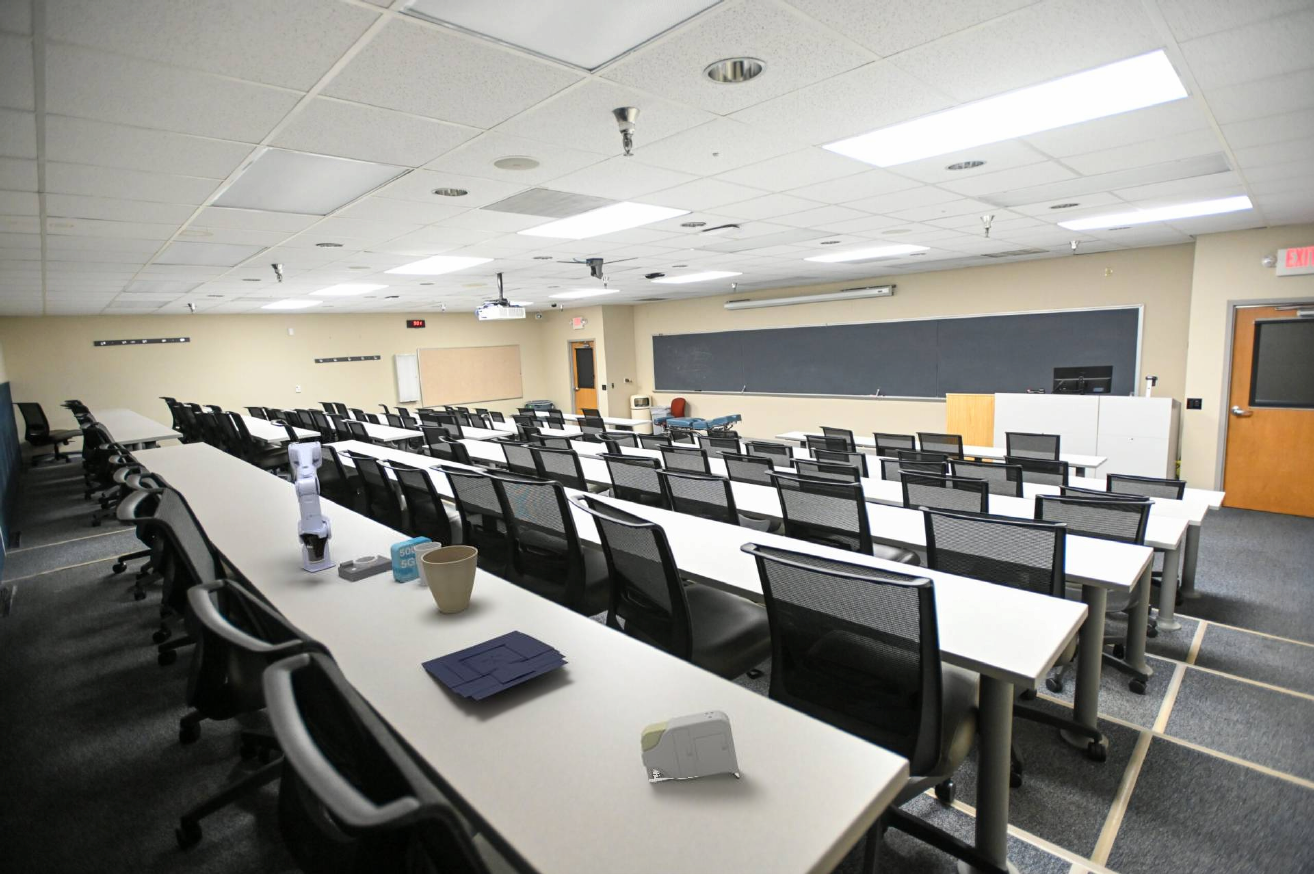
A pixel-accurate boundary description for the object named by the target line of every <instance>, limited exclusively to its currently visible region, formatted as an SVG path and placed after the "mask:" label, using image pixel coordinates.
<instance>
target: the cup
mask: <svg viewBox="0 0 1314 874" xmlns="http://www.w3.org/2000/svg"><path fill="white" fill-rule="evenodd" d="M439 548H442V544H441V542H436V541H433V542H429V543H423V544H420V545H417V546H415V547H414V551H415V556H416V561H417V566H418V572H419V582H420V583H419V584H420V586H421V587H425V588H426V587H428V588H429V585H428V582H427V579H426V576H425V572H424V568H423V564H422V560H421V557H422V556H423V555H424V554H425V553H427V552H430V551H432V550H435V549H439Z"/></svg>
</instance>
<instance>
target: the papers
mask: <svg viewBox="0 0 1314 874" xmlns="http://www.w3.org/2000/svg"><path fill="white" fill-rule="evenodd" d="M564 658H567V656H566V655H564V654H563V653H561V651H560V650H558V649H555V647H553V646H552V645H550V644H547V643H546V642H543V641H541V640H539V639H538V638H536V637H533V636H532V635H529V634H527V633H524V632H522V631H519V630H513V631H510V632H507V633H505V634H503V635H500V636H497V637H495V638H491V639H488V640H486V641H482V642H481V643H477V644H474V645H473V646H472V645H471V646H469V647H466V648H463V649H461V650H458V651H455V652H450V653H449V654H444V655H442V656H440V657H437V658H433V659H430V660H426V661H424V662H421V665H422V666H423V667H424V668H425V669H426V670H427V671H428V672H430V673H431V674H432V675H433V676H435V678H437V679H439V681H441V682H442V683H443V684H444V685H445V686H447V687H448V688H449V690H451V691H452V692H454V693H455V694H457V693H458V694H460V695H461V696H462V697H464V698H467V697H469V696H471V697H472V698H473V699H475V700H476V701H479V700H481V699H484V698H486V697H489V696H491V695H494V694H495V693H499V692H501V691H503V690H505V689H508V688H511V687H512V686H513V687H514V686H515V685H518V684H520V683H522V682H525V681H527V680H530V679H532V678H535V677H537V676H540V675H542V674H545V673H547V672H550V671H552V670H555V669H557V668H560V667H563V666H565V665H568V664H569V663H570V662H569V661H566V660H565V659H564Z"/></svg>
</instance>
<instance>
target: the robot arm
mask: <svg viewBox="0 0 1314 874" xmlns="http://www.w3.org/2000/svg"><path fill="white" fill-rule="evenodd" d="M287 448H288V456H289V457H288V458H289V461H290V466H291V467H292V469H293V470H295V473H296V474H295V475H296V480H295V481H294V489H295V495H296V498H297V502H298V504H299V505H298V506H299V512H300V514H299V515H300V519H299V521H298V523H297V535H298V543H299V544H301V545H302V548H301V553H302V554H301V555H302V561H303V565H301V566H300V568H301V569H304V570H306V571H308V572H310V573H316V572H319V571H322V570H325V569H329V568H333V567H336V566H337V564H336V563H334V562H331V561H332V560H331V554H330V553H331V552H330V546H329V545H330V544H329V540H331V539H332V538H333V536H332V527H331V522H330V518H329V517H328V516H326V515H324V514H323V513H322V509H321V508H322V507H321V502H320V493H321V488H320V482H319V478H318V474H317V473H318V472H317V469H318V468H320V467H322V463H323V458H322V457H323V454H322V445H321V442H319V441H318V440H317V441H314V442H313V441H311V442H302V443H290V444H289V445H287ZM309 543H311V545H312V547H313V551H314V554H315V557H316V558H319V557H323V556H324V557H325V561H323V562H321V563H316V564H310V563H309V558H308V550H307V544H309Z"/></svg>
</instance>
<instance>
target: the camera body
mask: <svg viewBox="0 0 1314 874" xmlns="http://www.w3.org/2000/svg"><path fill="white" fill-rule="evenodd" d="M337 571H338V576H339V577H340V578H342V579H345V580H346V581H350V582H352V583H354V582H358V581H360V580H364V579H366V578H367V579H368V578H370V577H373V576H377V575H380V574H382V573H386V572H389V571H393V569H392V560H391V558H388V557H386V556H383V555H366V556H361V557H357V558H356V559H354V560H352V559H351V560H347V561H345V562H340V563H339V566H337Z"/></svg>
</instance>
